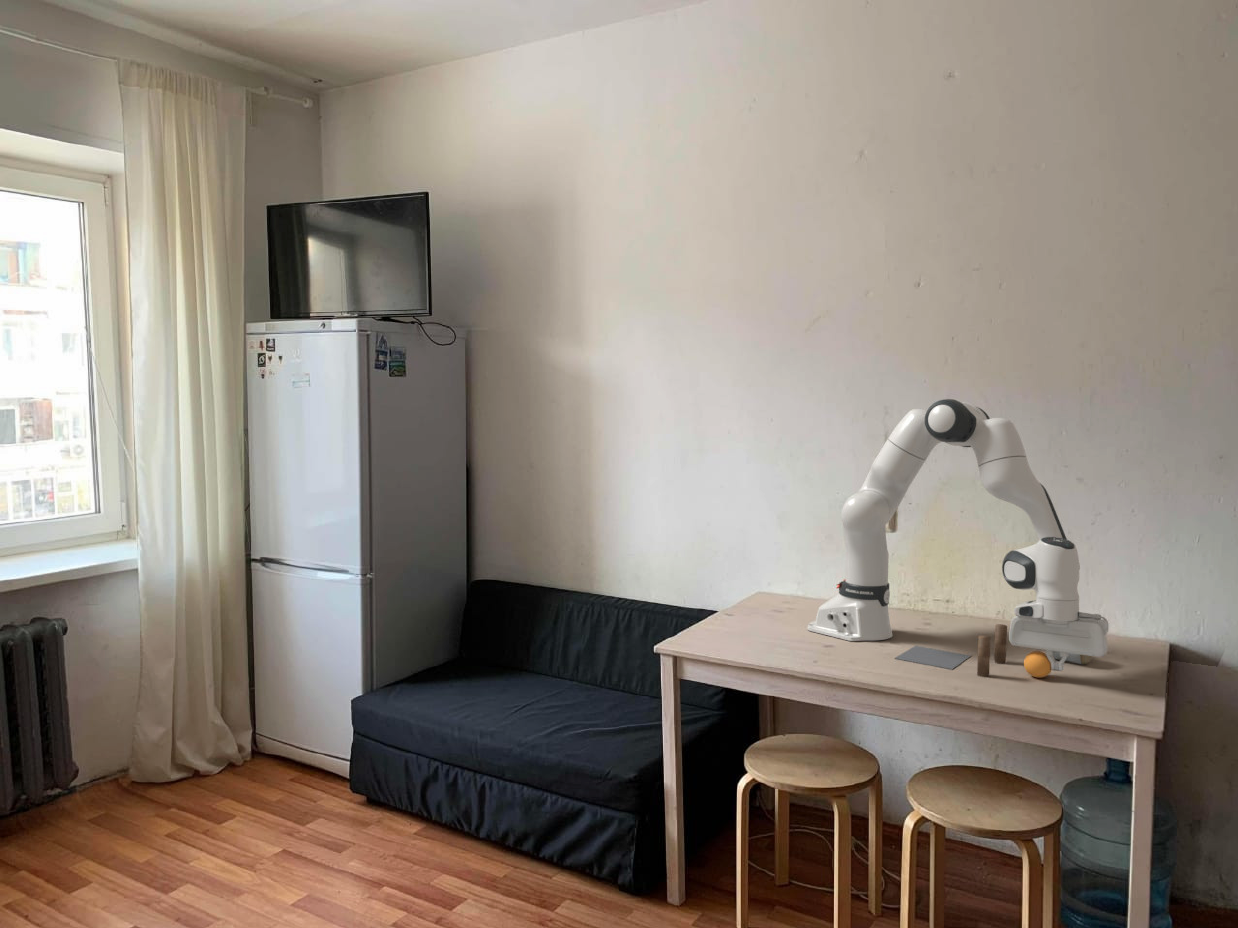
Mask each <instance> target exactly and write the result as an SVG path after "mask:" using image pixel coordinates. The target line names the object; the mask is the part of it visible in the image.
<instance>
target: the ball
mask: <svg viewBox="0 0 1238 928" xmlns="http://www.w3.org/2000/svg"><path fill="white" fill-rule="evenodd" d="M1023 666H1024V669H1025V671H1026V673H1028V674H1029V675H1030V676H1032V677H1033V678H1037V679H1039V678H1046V677H1047V676H1048V675H1050V674H1051V671H1052V670H1051V662H1050V661H1049V659H1048V658H1047V656H1046V652H1044V651H1040V650H1036V651H1035V650H1034V651H1032V652H1029V653H1027V655H1026V656H1025V658H1024V661H1023Z"/></svg>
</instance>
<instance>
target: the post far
mask: <svg viewBox="0 0 1238 928" xmlns="http://www.w3.org/2000/svg"><path fill="white" fill-rule="evenodd" d="M994 630H995V631H994V633H995V634H994V635H995V636H994V659H993V662H994V661H995V662H994V663H996V662H997V664H1000V663H1004V664H1007V642H1008V641H1007V640H1008V639H1007V637H1008V636H1007V635H1008V625H1006V624H1002V623H1001V624H1000V623H996V624H995V629H994Z"/></svg>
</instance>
